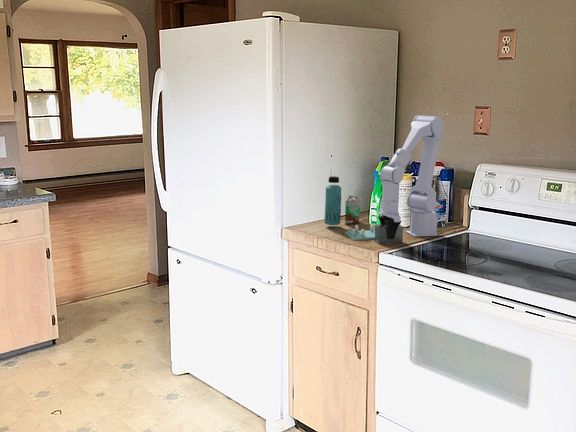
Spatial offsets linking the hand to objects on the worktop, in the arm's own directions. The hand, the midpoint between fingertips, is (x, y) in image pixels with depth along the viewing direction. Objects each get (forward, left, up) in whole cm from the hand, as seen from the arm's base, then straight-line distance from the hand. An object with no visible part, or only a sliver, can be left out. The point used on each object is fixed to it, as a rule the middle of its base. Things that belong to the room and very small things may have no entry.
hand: (388, 237), depth 219 cm
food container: (+2, -32, -2) cm, 32 cm away
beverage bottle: (+13, -26, -2) cm, 29 cm away
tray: (+4, -10, -2) cm, 11 cm away
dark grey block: (0, 0, -2) cm, 2 cm away
